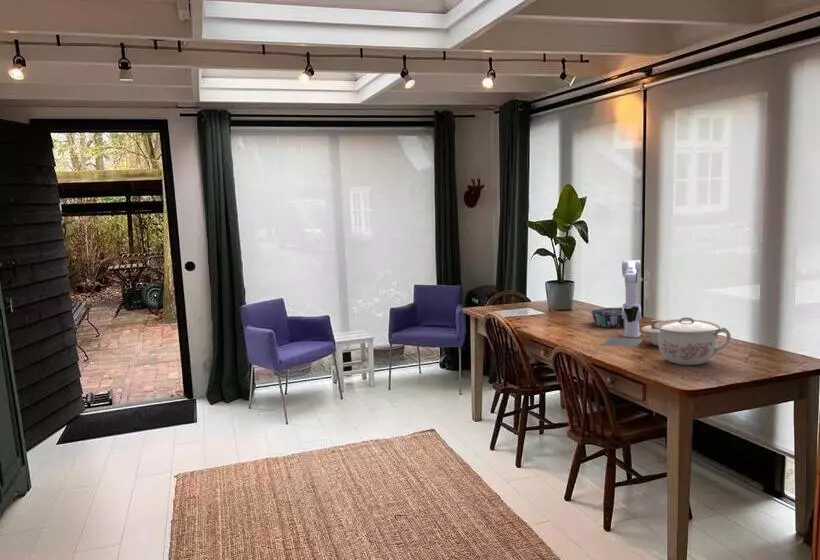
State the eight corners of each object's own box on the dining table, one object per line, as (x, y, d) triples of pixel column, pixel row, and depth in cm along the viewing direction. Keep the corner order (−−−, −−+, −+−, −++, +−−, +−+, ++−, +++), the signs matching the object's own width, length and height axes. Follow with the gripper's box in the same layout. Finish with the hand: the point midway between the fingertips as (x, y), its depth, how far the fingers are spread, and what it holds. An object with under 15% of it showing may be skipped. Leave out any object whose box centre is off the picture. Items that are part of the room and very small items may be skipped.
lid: (641, 326, 316) (641, 317, 316) (672, 326, 312) (672, 317, 311) (643, 332, 302) (642, 323, 301) (675, 333, 297) (675, 323, 297)
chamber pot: (640, 359, 283) (640, 316, 280) (683, 351, 294) (683, 309, 291) (690, 373, 257) (690, 326, 255) (735, 363, 268) (736, 317, 266)
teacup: (671, 342, 311) (671, 327, 310) (674, 347, 301) (674, 332, 300) (642, 342, 315) (642, 327, 314) (644, 347, 305) (644, 332, 304)
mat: (610, 337, 329) (610, 337, 329) (643, 340, 320) (643, 339, 320) (602, 345, 314) (602, 344, 314) (636, 347, 305) (636, 347, 305)
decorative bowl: (643, 331, 348) (644, 314, 347) (595, 329, 350) (596, 312, 349) (630, 322, 374) (631, 306, 373) (585, 321, 375) (585, 305, 374)
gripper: (626, 294, 325) (626, 320, 326) (620, 296, 313) (620, 322, 313) (640, 295, 322) (640, 320, 322) (634, 296, 309) (634, 322, 310)
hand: (631, 321), depth 317 cm, fingers open, 7 cm apart
